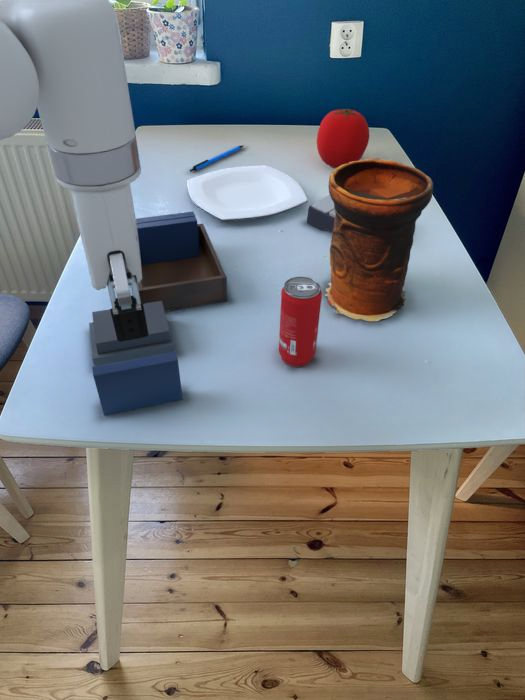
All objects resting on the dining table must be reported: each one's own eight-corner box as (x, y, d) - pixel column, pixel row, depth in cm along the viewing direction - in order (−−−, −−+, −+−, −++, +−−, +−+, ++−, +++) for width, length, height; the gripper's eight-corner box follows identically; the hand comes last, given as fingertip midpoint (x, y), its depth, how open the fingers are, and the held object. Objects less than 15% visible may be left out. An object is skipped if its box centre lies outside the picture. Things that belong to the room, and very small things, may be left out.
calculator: (374, 234, 95) (307, 202, 102) (369, 254, 98) (305, 223, 105) (406, 212, 101) (341, 184, 108) (401, 232, 104) (338, 203, 111)
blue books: (142, 265, 92) (136, 228, 87) (140, 254, 95) (134, 218, 90) (200, 256, 94) (197, 220, 90) (196, 246, 97) (193, 211, 92)
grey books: (95, 369, 74) (89, 347, 71) (91, 333, 79) (86, 311, 77) (174, 354, 76) (172, 333, 74) (166, 320, 82) (163, 299, 79)
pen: (189, 172, 122) (188, 167, 121) (242, 147, 133) (242, 142, 132) (192, 173, 121) (191, 168, 121) (244, 147, 133) (244, 143, 132)
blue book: (103, 415, 68) (93, 375, 63) (103, 406, 69) (92, 366, 64) (182, 399, 70) (177, 360, 65) (180, 390, 71) (175, 351, 66)
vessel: (303, 279, 91) (312, 164, 77) (377, 264, 94) (398, 151, 81) (341, 331, 81) (360, 208, 67) (423, 312, 84) (456, 192, 71)
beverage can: (276, 345, 78) (279, 276, 70) (311, 343, 78) (318, 274, 70) (280, 369, 74) (284, 299, 66) (317, 368, 75) (325, 298, 67)
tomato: (333, 179, 120) (339, 121, 112) (304, 160, 128) (308, 104, 119) (376, 168, 125) (386, 112, 116) (347, 151, 132) (353, 96, 124)
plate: (321, 211, 109) (322, 202, 107) (215, 235, 101) (215, 226, 100) (270, 168, 124) (270, 159, 123) (174, 186, 116) (173, 177, 115)
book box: (142, 315, 83) (138, 290, 80) (130, 256, 95) (126, 233, 92) (227, 301, 86) (226, 277, 83) (204, 246, 98) (203, 223, 95)
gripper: (51, 128, 53) (88, 272, 65) (53, 208, 41) (99, 369, 53) (128, 120, 55) (151, 263, 66) (152, 195, 43) (175, 354, 54)
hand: (128, 309), depth 59 cm, fingers open, 9 cm apart
